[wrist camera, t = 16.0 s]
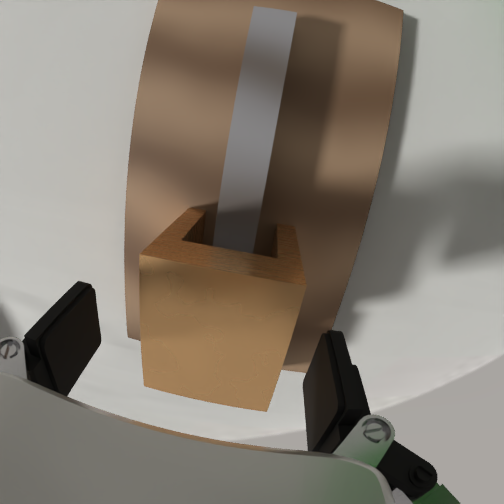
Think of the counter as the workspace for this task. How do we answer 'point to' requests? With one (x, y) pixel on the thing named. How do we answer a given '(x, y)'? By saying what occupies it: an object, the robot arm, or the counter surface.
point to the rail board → (303, 144)
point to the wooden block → (217, 314)
